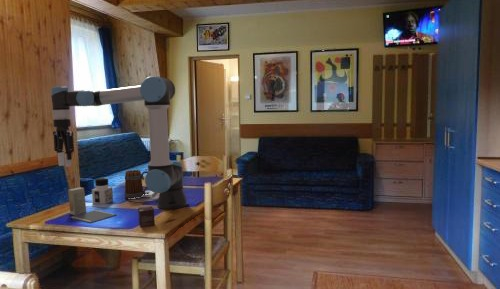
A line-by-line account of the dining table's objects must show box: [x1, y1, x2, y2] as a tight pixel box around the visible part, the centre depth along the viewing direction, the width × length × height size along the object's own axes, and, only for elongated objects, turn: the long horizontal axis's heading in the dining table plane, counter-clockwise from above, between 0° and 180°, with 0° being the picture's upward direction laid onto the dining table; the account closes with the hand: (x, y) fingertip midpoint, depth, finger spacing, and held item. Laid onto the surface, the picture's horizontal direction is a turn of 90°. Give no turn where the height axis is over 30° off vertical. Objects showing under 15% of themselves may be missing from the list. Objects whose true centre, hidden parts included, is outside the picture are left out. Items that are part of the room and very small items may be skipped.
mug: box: [124, 169, 150, 200], centre depth 217 cm, size 16×11×15 cm
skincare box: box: [67, 186, 87, 216], centre depth 187 cm, size 6×4×12 cm
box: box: [137, 205, 156, 228], centre depth 167 cm, size 6×6×7 cm
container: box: [91, 177, 114, 205], centre depth 208 cm, size 8×8×13 cm
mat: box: [68, 209, 117, 224], centre depth 181 cm, size 16×14×1 cm
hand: (65, 165), depth 190 cm, fingers open, 5 cm apart
